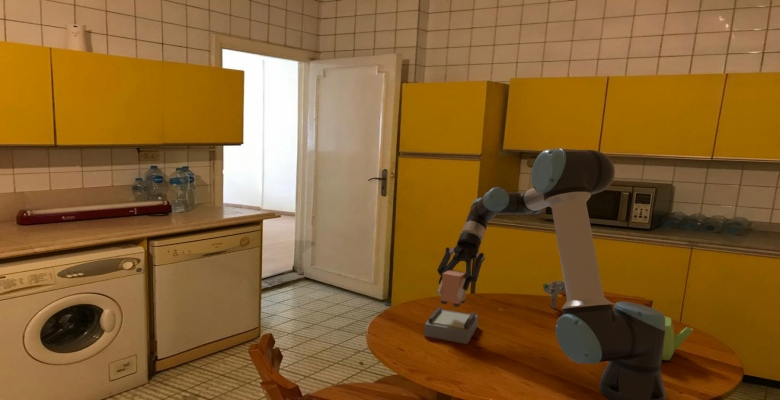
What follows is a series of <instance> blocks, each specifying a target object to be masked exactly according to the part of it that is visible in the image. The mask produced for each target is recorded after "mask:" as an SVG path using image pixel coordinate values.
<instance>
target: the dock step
mask: <svg viewBox="0 0 780 400" xmlns="http://www.w3.org/2000/svg"><path fill="white" fill-rule="evenodd" d="M442 308H443V307H441V306H438V307H437V308H436V309H435V311H434V312H433V313H432V314H430V316H429V318H428V319H427V321H426V322H425V324H424V332H423V337H425V338H431V339H438V340H443V341H447V342H455V343H459V344H465V345H468V344H469V343H470V341H471V339H472V338H473V335H474V334H475V332H476V330H477V328H478V323H479V322H478V321H479V320H478V319H479V315H478V314H476V313H475V312H474V311H473V312H471V313H465V312H459V311H453V310H446V309H442Z"/></svg>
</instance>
